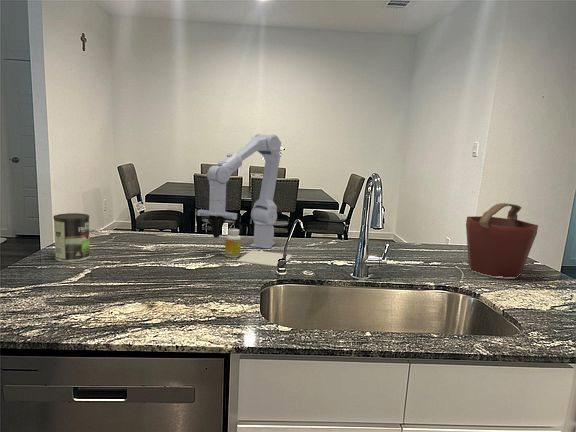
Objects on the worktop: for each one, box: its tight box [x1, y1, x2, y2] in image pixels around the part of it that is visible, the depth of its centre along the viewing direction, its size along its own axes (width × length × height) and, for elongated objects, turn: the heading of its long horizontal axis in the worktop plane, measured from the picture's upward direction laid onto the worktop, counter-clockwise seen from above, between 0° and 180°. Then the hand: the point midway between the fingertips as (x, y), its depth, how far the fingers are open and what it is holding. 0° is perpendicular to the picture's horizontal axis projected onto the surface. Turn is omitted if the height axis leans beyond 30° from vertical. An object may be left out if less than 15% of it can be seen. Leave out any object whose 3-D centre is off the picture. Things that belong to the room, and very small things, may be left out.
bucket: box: [465, 202, 539, 277], centre depth 146 cm, size 24×22×25 cm
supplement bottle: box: [224, 228, 242, 259], centre depth 149 cm, size 5×5×10 cm
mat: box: [236, 249, 294, 268], centre depth 148 cm, size 16×16×1 cm
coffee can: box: [52, 212, 91, 263], centre depth 135 cm, size 10×10×14 cm
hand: (216, 236), depth 150 cm, fingers closed
